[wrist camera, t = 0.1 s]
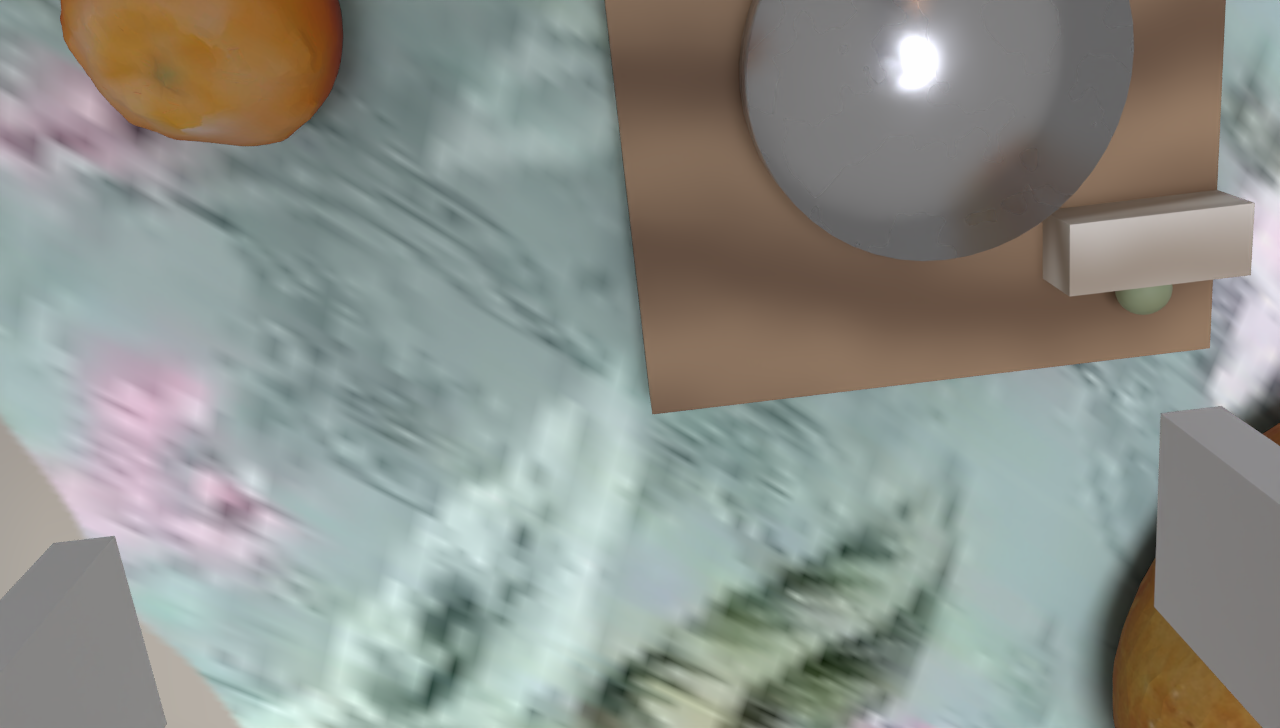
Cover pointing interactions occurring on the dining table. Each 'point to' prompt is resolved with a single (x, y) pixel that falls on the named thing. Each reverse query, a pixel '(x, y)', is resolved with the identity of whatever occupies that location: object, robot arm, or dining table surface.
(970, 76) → the cam disc
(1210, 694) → the bread
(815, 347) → the board
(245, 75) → the fruit
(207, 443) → the dining table surface
